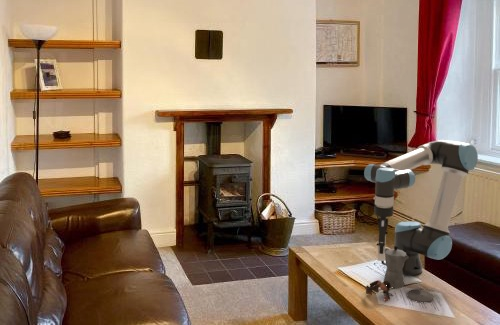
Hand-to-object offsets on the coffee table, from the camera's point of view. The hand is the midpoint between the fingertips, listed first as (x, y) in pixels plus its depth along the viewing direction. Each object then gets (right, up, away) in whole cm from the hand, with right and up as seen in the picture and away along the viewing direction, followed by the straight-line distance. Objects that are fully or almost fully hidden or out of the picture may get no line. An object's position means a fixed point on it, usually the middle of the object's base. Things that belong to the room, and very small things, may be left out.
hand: (381, 254), depth 227 cm
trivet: (+17, -18, +3) cm, 25 cm away
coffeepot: (+9, -16, +17) cm, 25 cm away
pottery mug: (0, -19, +3) cm, 19 cm away
